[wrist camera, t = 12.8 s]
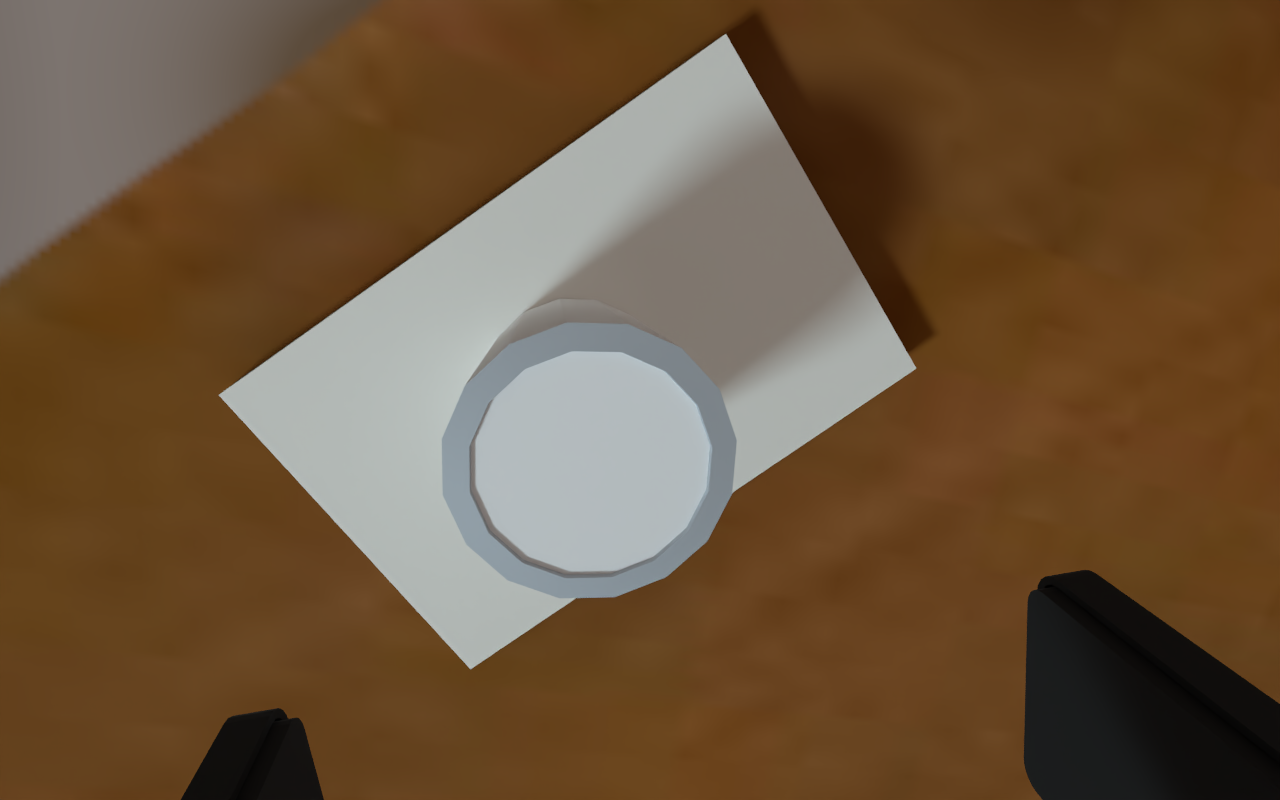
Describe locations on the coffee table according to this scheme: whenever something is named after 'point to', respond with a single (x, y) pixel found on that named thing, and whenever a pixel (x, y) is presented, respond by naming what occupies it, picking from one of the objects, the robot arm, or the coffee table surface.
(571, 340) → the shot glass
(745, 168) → the ceramic tile
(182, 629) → the coffee table surface
